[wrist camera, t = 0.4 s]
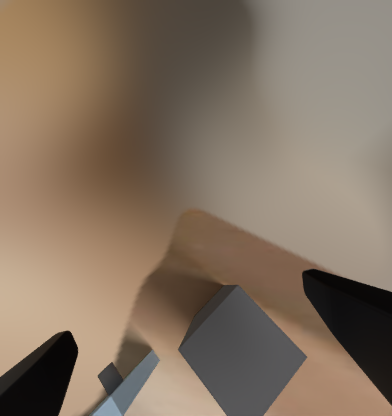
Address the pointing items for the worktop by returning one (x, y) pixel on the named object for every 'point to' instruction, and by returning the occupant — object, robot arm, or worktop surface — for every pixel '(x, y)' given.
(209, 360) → the block
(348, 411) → the worktop surface
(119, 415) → the door
